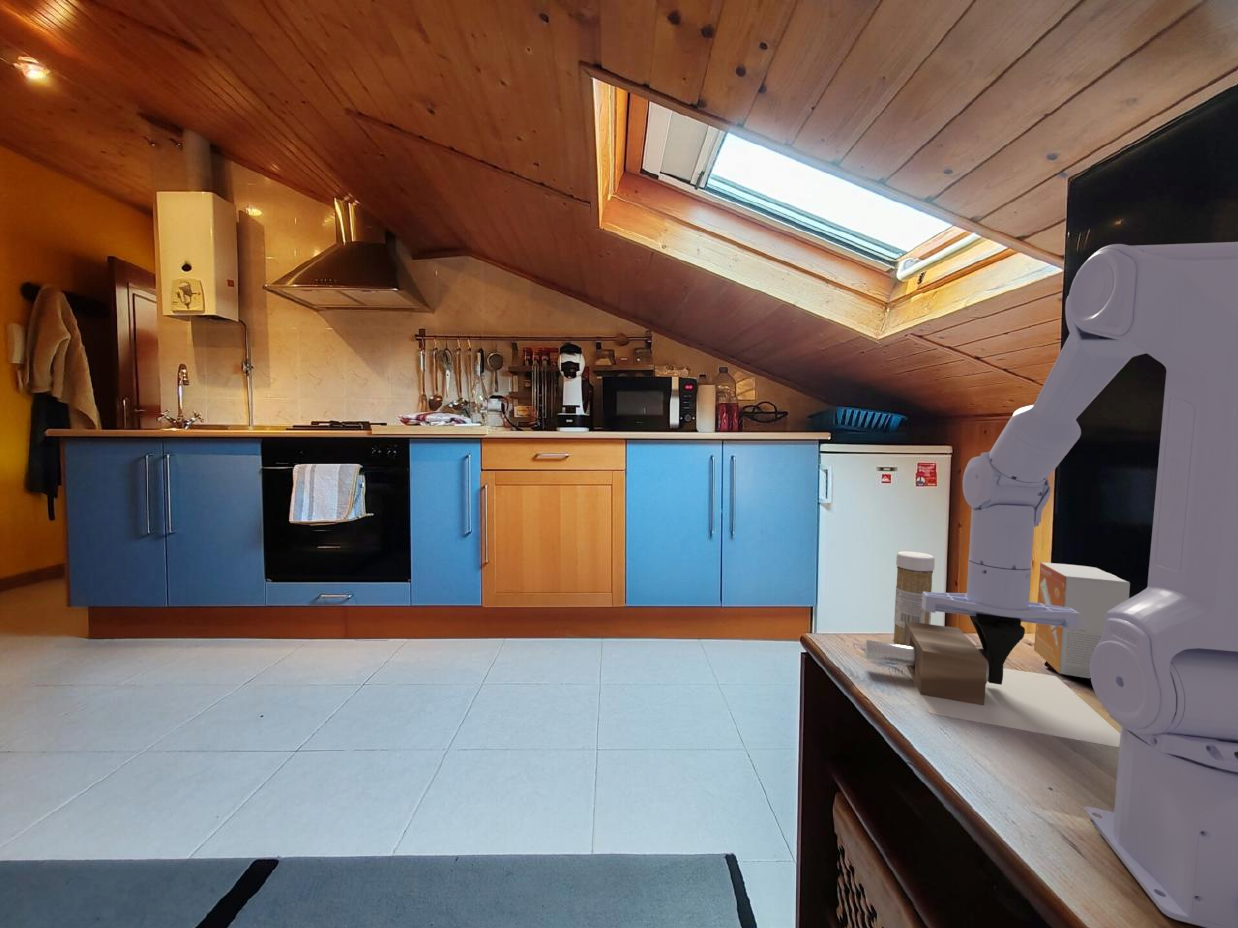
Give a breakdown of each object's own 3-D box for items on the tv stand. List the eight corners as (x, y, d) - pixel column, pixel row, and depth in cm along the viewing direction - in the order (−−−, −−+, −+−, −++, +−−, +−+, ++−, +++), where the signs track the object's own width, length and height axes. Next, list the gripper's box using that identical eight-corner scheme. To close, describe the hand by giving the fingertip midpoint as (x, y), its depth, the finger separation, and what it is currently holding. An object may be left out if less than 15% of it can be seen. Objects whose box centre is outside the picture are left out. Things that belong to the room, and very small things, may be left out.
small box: (1032, 653, 70) (1038, 561, 69) (1090, 662, 68) (1097, 566, 67) (1058, 678, 62) (1065, 575, 62) (1124, 689, 60) (1132, 582, 59)
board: (1138, 757, 47) (1139, 750, 47) (929, 718, 52) (929, 712, 52) (1055, 680, 62) (1055, 675, 62) (899, 657, 67) (899, 652, 67)
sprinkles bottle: (935, 650, 70) (941, 555, 69) (919, 657, 67) (924, 558, 67) (902, 639, 74) (907, 548, 73) (885, 645, 71) (890, 551, 70)
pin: (987, 691, 56) (989, 656, 56) (867, 671, 60) (869, 639, 60) (975, 675, 60) (977, 643, 60) (863, 658, 64) (865, 627, 64)
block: (984, 705, 54) (987, 660, 54) (920, 694, 56) (923, 650, 56) (956, 666, 63) (958, 628, 63) (902, 658, 65) (904, 621, 65)
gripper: (1060, 562, 59) (1052, 676, 59) (918, 550, 64) (912, 655, 64) (1093, 577, 52) (1084, 705, 53) (932, 562, 57) (926, 679, 58)
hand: (991, 679), depth 58 cm, fingers closed
